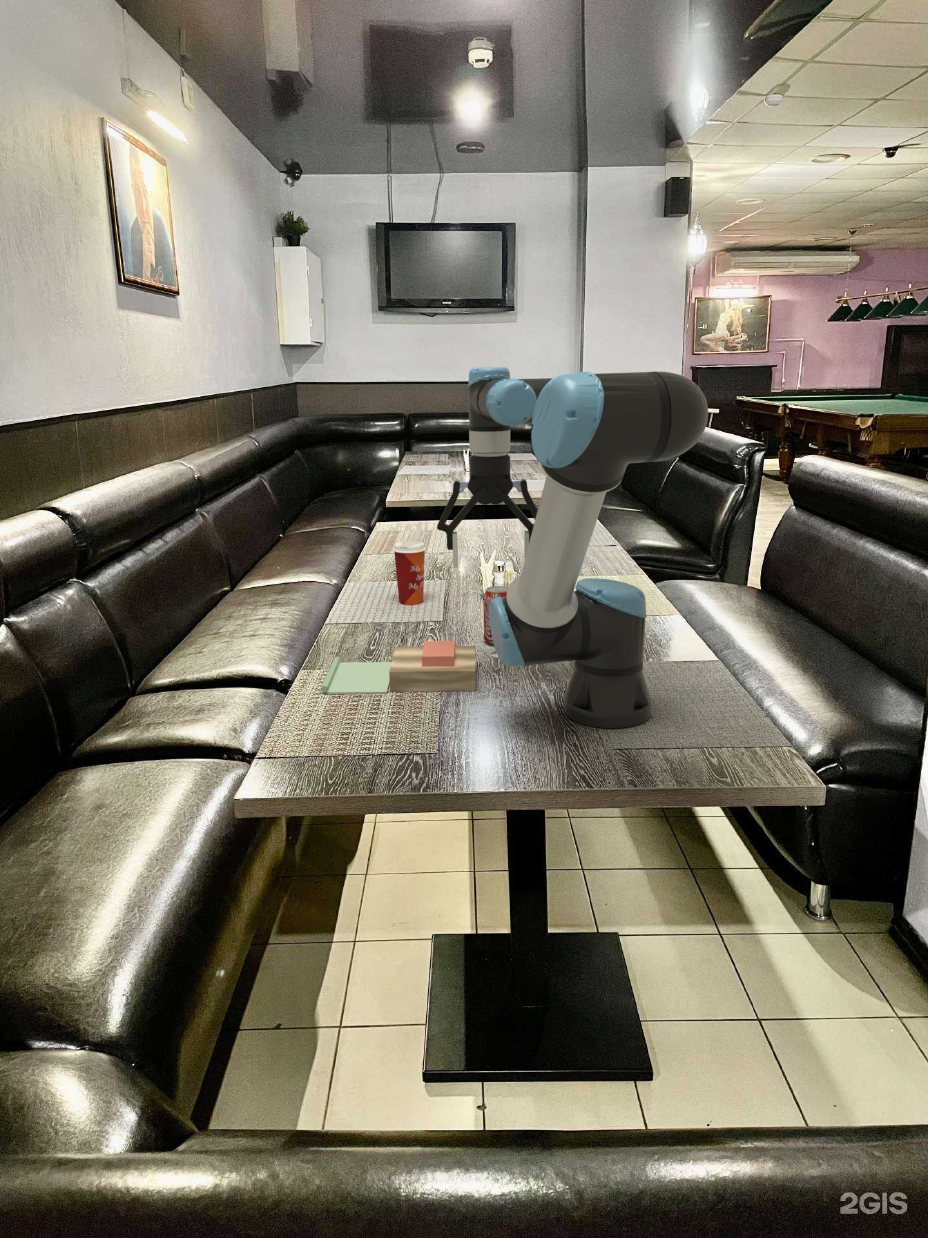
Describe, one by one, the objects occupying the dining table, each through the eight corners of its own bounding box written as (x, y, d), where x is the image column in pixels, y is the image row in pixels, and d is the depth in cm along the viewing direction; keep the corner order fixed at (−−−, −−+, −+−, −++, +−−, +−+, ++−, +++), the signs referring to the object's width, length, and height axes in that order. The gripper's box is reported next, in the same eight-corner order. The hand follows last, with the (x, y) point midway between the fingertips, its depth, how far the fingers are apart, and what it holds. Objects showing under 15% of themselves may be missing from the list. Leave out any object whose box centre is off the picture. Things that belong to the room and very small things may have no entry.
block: (454, 666, 164) (453, 656, 164) (422, 666, 164) (421, 656, 164) (454, 650, 173) (454, 640, 172) (424, 650, 173) (424, 641, 172)
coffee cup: (420, 607, 216) (418, 548, 211) (389, 605, 218) (387, 546, 214) (432, 598, 223) (431, 541, 219) (402, 596, 226) (400, 539, 221)
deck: (475, 690, 163) (475, 670, 162) (390, 691, 163) (389, 671, 162) (475, 664, 176) (475, 646, 175) (396, 665, 177) (395, 646, 175)
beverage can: (477, 642, 190) (477, 589, 186) (497, 635, 194) (497, 583, 190) (498, 648, 186) (498, 594, 182) (518, 641, 190) (518, 588, 186)
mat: (386, 693, 162) (386, 685, 162) (322, 694, 163) (321, 686, 162) (394, 663, 178) (393, 656, 177) (335, 664, 178) (334, 657, 177)
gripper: (556, 450, 165) (555, 560, 171) (424, 452, 166) (427, 562, 171) (559, 454, 157) (557, 569, 163) (420, 456, 158) (424, 571, 164)
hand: (491, 566), depth 167 cm, fingers open, 13 cm apart
